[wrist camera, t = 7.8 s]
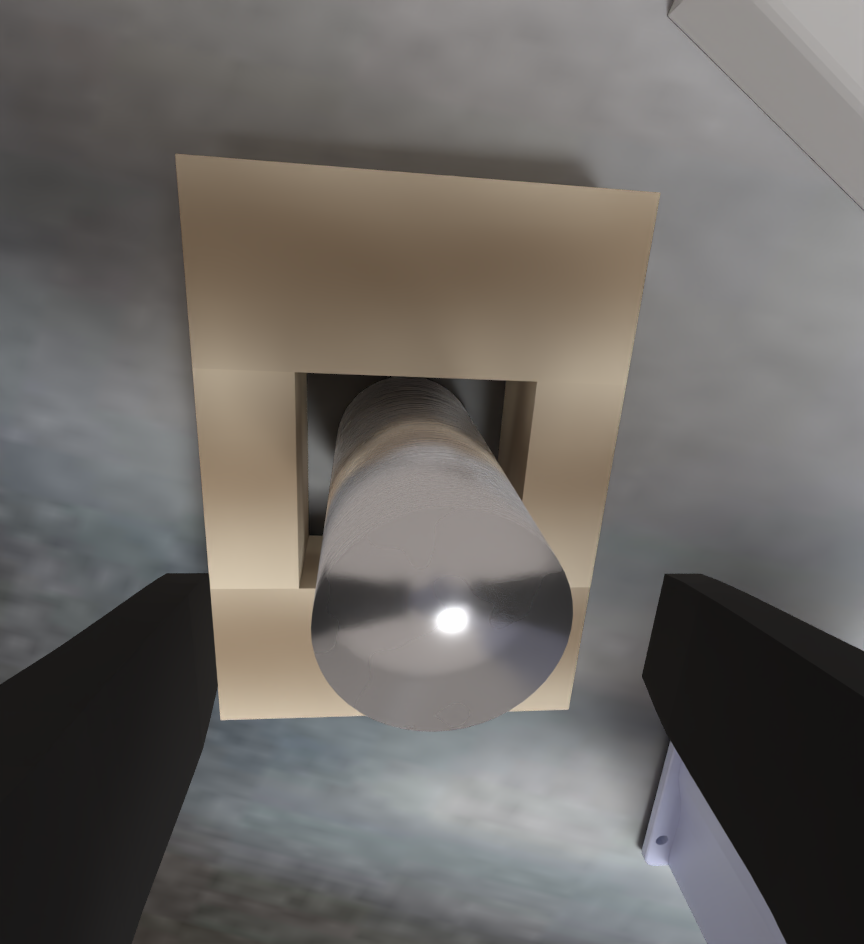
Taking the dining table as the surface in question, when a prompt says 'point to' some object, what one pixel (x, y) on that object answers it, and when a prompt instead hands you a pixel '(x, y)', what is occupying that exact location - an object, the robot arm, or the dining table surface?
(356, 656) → the tall pin
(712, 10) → the white slotted housing
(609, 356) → the hole plate
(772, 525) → the dining table surface
